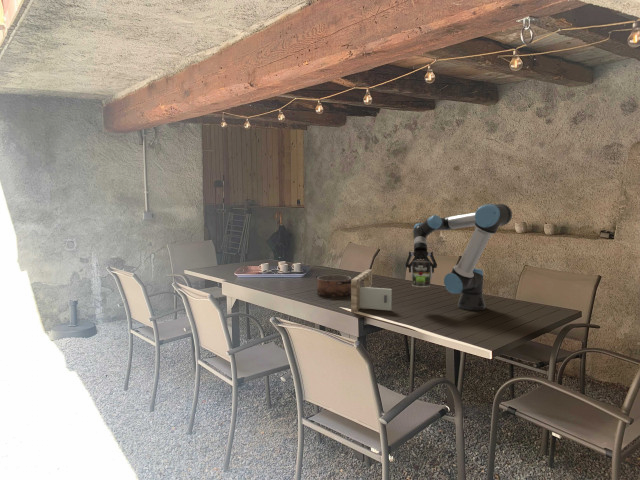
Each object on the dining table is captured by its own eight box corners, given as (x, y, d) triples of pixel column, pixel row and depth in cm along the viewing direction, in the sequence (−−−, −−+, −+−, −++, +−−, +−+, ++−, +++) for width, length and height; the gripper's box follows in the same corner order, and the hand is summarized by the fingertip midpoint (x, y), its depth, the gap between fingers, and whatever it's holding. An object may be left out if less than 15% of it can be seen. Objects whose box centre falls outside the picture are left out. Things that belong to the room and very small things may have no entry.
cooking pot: (362, 294, 302) (362, 278, 301) (337, 300, 288) (337, 283, 287) (331, 287, 325) (331, 272, 324) (306, 292, 310) (306, 276, 309)
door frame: (367, 297, 294) (367, 269, 293) (371, 297, 293) (372, 269, 292) (351, 311, 259) (351, 279, 257) (356, 312, 258) (356, 280, 256)
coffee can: (429, 287, 254) (430, 262, 253) (410, 287, 257) (411, 261, 256) (431, 284, 264) (431, 260, 263) (412, 283, 267) (413, 259, 266)
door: (354, 308, 264) (355, 287, 263) (356, 306, 268) (356, 286, 266) (390, 311, 258) (390, 290, 256) (391, 309, 261) (391, 288, 260)
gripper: (439, 250, 272) (441, 281, 258) (400, 249, 276) (400, 280, 262) (440, 242, 266) (443, 273, 252) (400, 241, 270) (401, 272, 256)
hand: (421, 276), depth 257 cm, fingers closed on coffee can, 10 cm apart
